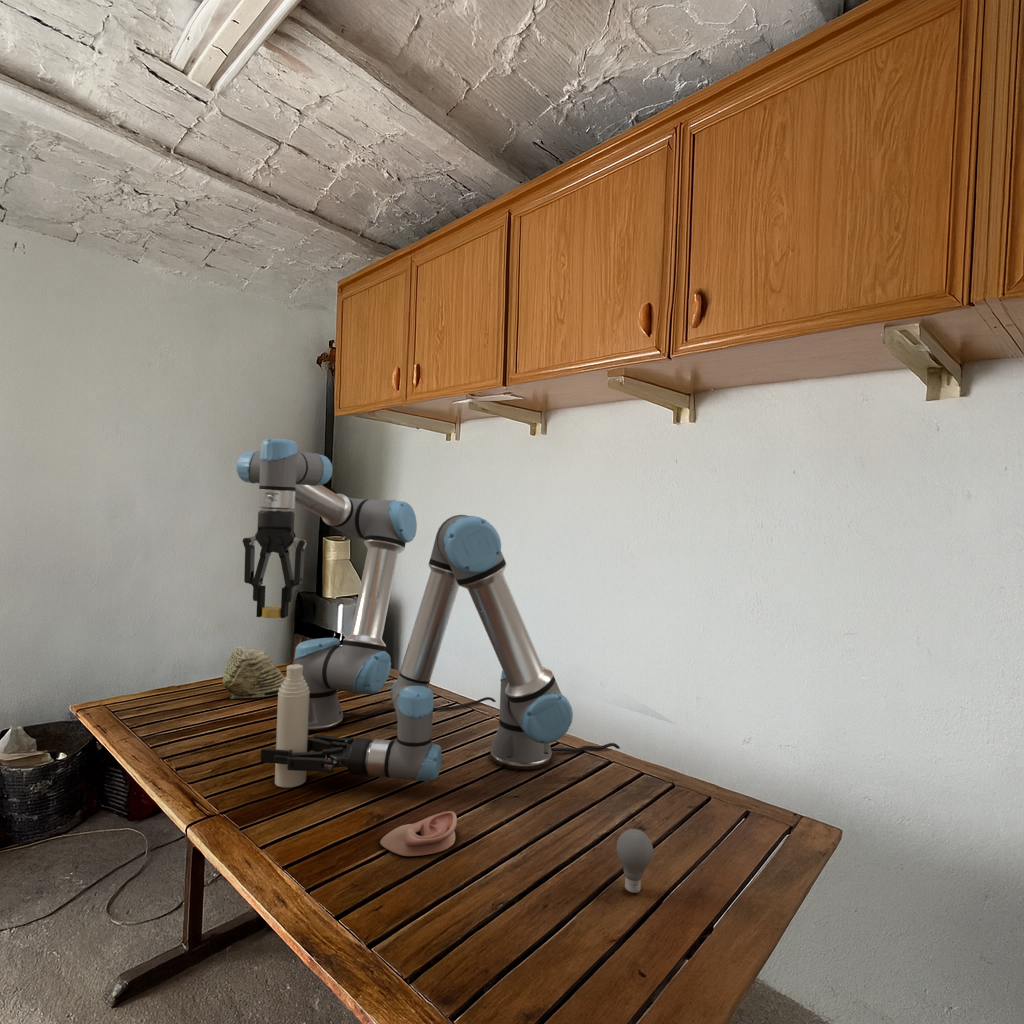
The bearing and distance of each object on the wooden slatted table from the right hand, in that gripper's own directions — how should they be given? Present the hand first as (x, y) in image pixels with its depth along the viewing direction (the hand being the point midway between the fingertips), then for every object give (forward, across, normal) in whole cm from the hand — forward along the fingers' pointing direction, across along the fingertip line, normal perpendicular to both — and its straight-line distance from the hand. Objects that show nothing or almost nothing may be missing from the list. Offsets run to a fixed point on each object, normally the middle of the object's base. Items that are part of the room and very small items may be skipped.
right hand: (270, 748), depth 141 cm
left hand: (0, -2, +30) cm, 30 cm away
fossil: (+32, +54, -7) cm, 63 cm away
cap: (0, -2, +32) cm, 32 cm away
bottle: (-5, 0, -7) cm, 8 cm away
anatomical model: (-39, -19, -7) cm, 44 cm away
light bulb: (-78, -28, -7) cm, 83 cm away
